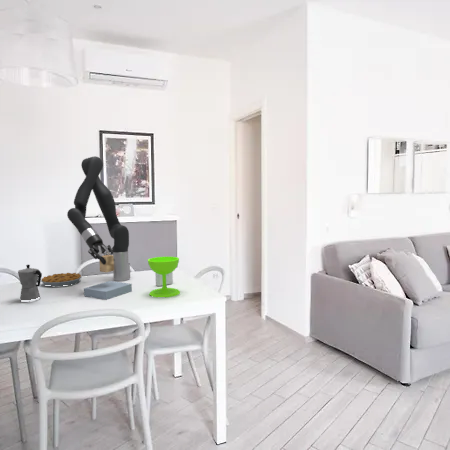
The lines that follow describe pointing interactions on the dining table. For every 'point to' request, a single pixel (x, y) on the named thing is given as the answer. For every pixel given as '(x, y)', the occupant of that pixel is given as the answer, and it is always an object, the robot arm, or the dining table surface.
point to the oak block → (107, 264)
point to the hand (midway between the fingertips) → (109, 262)
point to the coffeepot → (29, 283)
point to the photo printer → (168, 279)
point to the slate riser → (107, 290)
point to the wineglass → (164, 274)
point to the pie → (61, 279)
